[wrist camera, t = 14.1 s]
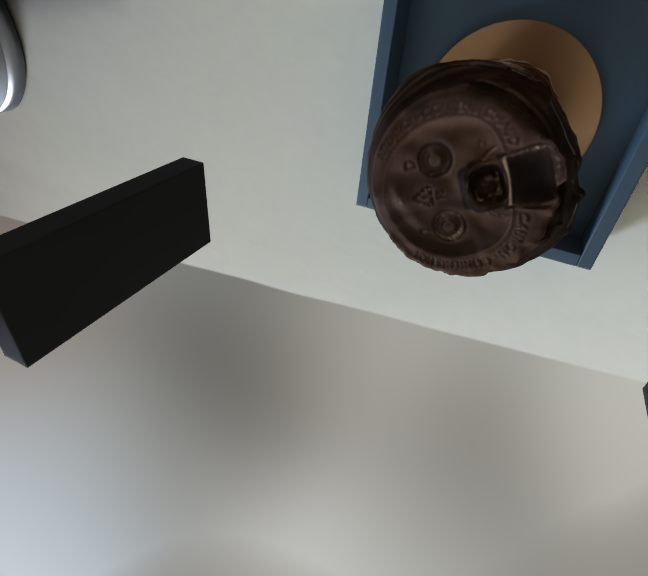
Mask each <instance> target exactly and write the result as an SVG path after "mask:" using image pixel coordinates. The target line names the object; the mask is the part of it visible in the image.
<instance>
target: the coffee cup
mask: <svg viewBox="0 0 648 576" xmlns="http://www.w3.org/2000/svg"><path fill="white" fill-rule="evenodd" d="M581 163H582V157H581V152H580V148H579V145H578V141H577V136H576V134H575V133H574V132H573V130H572V129H571V126H570V124H569V120H568V118H567V115H566V114H565V112H564V109H563V107H562V105H561V103H560V101H559V100H558V94H557V93H556V92H555V90H554V88H553V85H552V82H551V77H550V76H549V75H548V73H547V72H546V71H544V70H542V69H540V68H537V67H534V66H533V65H531V64H530V63H529V62H526V61H524V60H522V61H515V60H514V59H510V58H508V59H504V60H499V59H491V60H482V59H470V60H454V61H450V62H443V63H435V64H432V65H429V66H426V67H424V68H421V69H419V70H418V71H416V72H414V73H413V74H411V75H410V76H408V77H407V78H406V79H405V80H404V81H403V82H402V83H401V85H400V86H399V88H398V89H397V91H396V92H395V93H394V95H393V96H392V97H391V98H390V99H389V101H388V102H387V104H386V106H385V107H384V109H383V110H382V112H381V114H380V116H379V118H378V121H377V123H376V125H375V128H374V130H373V135H372V140H371V144H370V147H369V150H368V156H367V186H368V190H369V194H370V198H371V202H372V205H373V208H374V210H375V212H376V216H377V218H378V220H379V222H380V224H381V225H382V226H383V228H384V230H385V231H386V232H387V233H388V234H389V236H390V239H391V240H392V241H393V243H395V244H396V246H397V248H399V249H400V250H401V251H402V252H403V253H404V254H405V256H406V257H408V258H409V259H411V260H414V261H416V262H417V263H420V264H421V265H422V266H424V267H427V268H431V269H433V270H435V271H443V272H444V273H447V274H449V275H460V276H466V277H476V276H484V275H486V274H487V273H488V272H494V271H503V270H508V269H512V268H516V267H519V266H521V265H523V264H525V263H526V262H528V261H530V260H533V259H535V258H537V257H539V256H540V255H542V254H544V253H545V252H547V251H548V250H550V249H551V248H552V247H554V246H555V245H557V244H558V243H559V242H560V241H561V239H562V238H563V237H564V236H565V235H567V234H569V233H570V232H571V231H572V230H573V227H572V222H573V220H574V219H575V218H576V213H577V210H578V208H579V204H580V202H581V201H582V199H583V198H584V197H585V195H586V193H585V191H584V189H582V188H581V187H580V186H579V181H578V171H579V169H580V167H581Z"/></svg>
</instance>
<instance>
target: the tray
mask: <svg viewBox="0 0 648 576" xmlns="http://www.w3.org/2000/svg"><path fill="white" fill-rule="evenodd" d="M518 19H525V20H537V21H542V22H546V23H549V24H552V25H555V26H557V27H559V28H561V29H563V30H565V31H566V32H568V33H570V34H571V35H572V36H573V37H575V38H576V39H577V40H578V41H580V43H581V44H582V45H583V46H584V47H585V48H586V49H587V51H588V52H589V54H590V56H591V57H592V59H593V60H594V63H595V65H596V67H597V70H598V72H599V76H600V81H601V85H602V98H603V99H602V112H601V116H600V121H599V125H598V127H597V130H596V133H595V136H594V138H593V140H592V142H591V143H590V145H589V147H588V149H587V150H586V152H585V153H584V155H583V156H582V163H581V167H580V169H579V171H578V181H579V186H580V187H581V188H582V189H584V191H585V193H586V195H585V197H584V198H583V199H582V201H581V202H580V204H579V208H578V210H577V213H576V218H575V219H574V220H573V222H572V227H573V230H572V231H571V232H570V233H569V234H567V235H565V236H564V237H563V238H562V239H561V241H560V242H559V243H558V244H557V245H555V246H554V247H552V248H551V249H550V250H548V251H547V252H545V253H544V254H542V255H540V256H541V257H544V258H548V259H551V260H555V261H559V262H562V263H566V264H569V265H573V266H577V267H580V268H584V269H588V270H590V269H591V268H592V266H593V264H594V262H595V260H596V259H597V257H598V255H599V253H600V251H601V249H602V247H603V246H604V244H605V242H606V240H607V238H608V236H609V235H610V233H611V231H612V229H613V227H614V225H615V223H616V222H617V220H618V218H619V216H620V214H621V212H622V211H623V209H624V207H625V205H626V203H627V201H628V199H629V198H630V196H631V194H632V192H633V190H634V188H635V187H636V185H637V183H638V181H639V179H640V177H641V175H642V174H643V172H644V170H645V168H646V166H647V164H648V0H384V5H383V13H382V20H381V28H380V35H379V42H378V50H377V57H376V64H375V72H374V79H373V86H372V94H371V101H370V108H369V116H368V123H367V131H366V138H365V145H364V153H363V160H362V167H361V175H360V182H359V189H358V197H357V205H360V206H363V207H367V208H370V209H373V210H374V208H373V205H372V202H371V198H370V194H369V190H368V186H367V156H368V150H369V147H370V144H371V140H372V135H373V130H374V128H375V125H376V123H377V121H378V118H379V116H380V114H381V112H382V110H383V109H384V107H385V106H386V104H387V102H388V101H389V99H390V98H391V97H392V96H393V95H394V93H395V92H396V91H397V89H398V88H399V86H400V85H401V83H402V82H403V81H404V80H405V79H406V78H407V77H408V76H410V75H411V74H413V73H414V72H416V71H418V70H419V69H421V68H424V67H426V66H429V65H432V64H435V63H439V62H440V60H441V59H442V58H443V57H444V56H445V55H446V54H447V53H448V51H449V50H451V49H452V48H453V47H454V46H455V45H456V44H457V43H458V42H460V41H461V40H463V39H464V38H466V37H467V36H468V35H470V34H472V33H474V32H476V31H477V30H479V29H481V28H484V27H487V26H489V25H492V24H495V23H499V22H503V21H508V20H518Z"/></svg>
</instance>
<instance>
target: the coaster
mask: <svg viewBox="0 0 648 576" xmlns="http://www.w3.org/2000/svg"><path fill="white" fill-rule="evenodd" d="M508 58H510V59H514V60H515V61H522V60H524V61H526V62H529V63H530V64H531V65H533V66H534V67H537V68H540V69H542V70H544V71H546V72H547V73H548V75H549V76H550V77H551V82H552V85H553V88H554V90H555V92H556V93H557V94H558V100H559V101H560V103H561V105H562V107H563V109H564V112H565V114H566V115H567V118H568V120H569V124H570V126H571V129H572V130H573V132H574V133H575V134H576V136H577V141H578V145H579V148H580V152H581V157H582V156H583V155H584V153H585V152H586V150H587V149H588V147H589V145H590V143H591V142H592V140H593V138H594V136H595V133H596V130H597V127H598V125H599V121H600V116H601V112H602V99H603V98H602V85H601V81H600V76H599V72H598V70H597V67H596V65H595V63H594V60H593V59H592V57H591V56H590V54H589V52H588V51H587V49H586V48H585V47H584V46H583V45H582V44H581V43H580V41H578V40H577V39H576V38H575V37H573V36H572V35H571V34H570V33H568V32H566V31H565V30H563V29H561V28H559V27H557V26H555V25H552V24H549V23H546V22H542V21H537V20H525V19H518V20H508V21H503V22H499V23H495V24H492V25H489V26H487V27H484V28H481V29H479V30H477V31H476V32H474V33H472V34H470V35H468V36H467V37H466V38H464V39H463V40H461V41H460V42H458V43H457V44H456V45H455V46H454V47H453V48H452V49H451V50H449V51H448V53H447V54H446V55H445V56H444V57H443V58H442V59H441V60H440V62H439V63H443V62H450V61H454V60H470V59H482V60H491V59H499V60H504V59H508Z"/></svg>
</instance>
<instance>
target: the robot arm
mask: <svg viewBox="0 0 648 576" xmlns="http://www.w3.org/2000/svg"><path fill="white" fill-rule="evenodd" d="M25 82H26V73H25V64H24V58H23V53H22V48H21V45H20V41H19V38H18V35H17V32H16V29H15V26H14V24H13V21H12V19H11V17H10V14H9V12H8V10H7V8H6V6H5V4H4V2H3V0H0V112H4V111H9V110H12V109H14V108H15V107H16V106H18V104H19V103H20V102H21V100H22V98H23V94H24V90H25ZM209 242H210V230H209V219H208V208H207V198H206V187H205V176H204V165H203V163H202V162H198V161H195V160H191V159H187V158H184V157H183V158H180V159H178V160H176V161H173V162H171V163H169V164H166V165H164V166H162V167H159V168H157V169H154V170H152V171H150V172H147V173H145V174H143V175H140V176H138V177H136V178H133V179H131V180H129V181H126V182H124V183H122V184H119V185H117V186H114V187H112V188H110V189H107V190H105V191H103V192H100V193H98V194H96V195H93V196H91V197H89V198H86V199H84V200H82V201H79V202H77V203H74V204H72V205H70V206H67V207H65V208H63V209H60V210H58V211H56V212H53V213H51V214H49V215H46V216H44V217H42V218H39V219H37V220H34V221H32V222H30V223H27V224H25V225H23V226H20V227H18V228H16V229H13V230H11V231H9V232H7V233H4V234H2V235H0V347H1V349H2V351H3V353H4V355H5V356H7V357H8V358H10V359H12V360H14V361H16V362H18V363H20V364H22V365H23V366H25V367H27V368H28V367H29V366H31V365H32V364H34V363H35V362H37V361H38V360H39V359H41V358H42V357H44V356H45V355H47V354H48V353H50V352H51V351H53V350H54V349H55V348H57V347H58V346H60V345H61V344H63V343H64V342H65V341H67V340H69V339H70V338H71V337H73V336H74V335H75V334H77V333H79V332H80V331H82V330H83V329H84V328H86V327H87V326H89V325H90V324H92V323H93V322H94V321H96V320H97V319H99V318H100V317H102V316H103V315H105V314H106V313H108V312H109V311H110V310H112V309H113V308H115V307H116V306H118V305H119V304H121V303H122V302H123V301H125V300H126V299H128V298H129V297H131V296H132V295H134V294H135V293H137V292H138V291H139V290H141V289H142V288H144V287H145V286H146V285H148V284H150V283H151V282H152V281H154V280H155V279H157V278H158V277H160V276H161V275H163V274H164V273H166V272H167V271H168V270H170V269H171V268H173V267H174V266H176V265H177V264H179V263H180V262H181V261H183V260H184V259H186V258H187V257H189V256H190V255H192V254H193V253H195V252H196V251H197V250H199V249H200V248H202V247H203V246H205V245H206V244H208V243H209ZM643 393H644V399H645V405H646V410H647V415H648V382H647V384H646V385H645V386H644V387H643Z"/></svg>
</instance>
